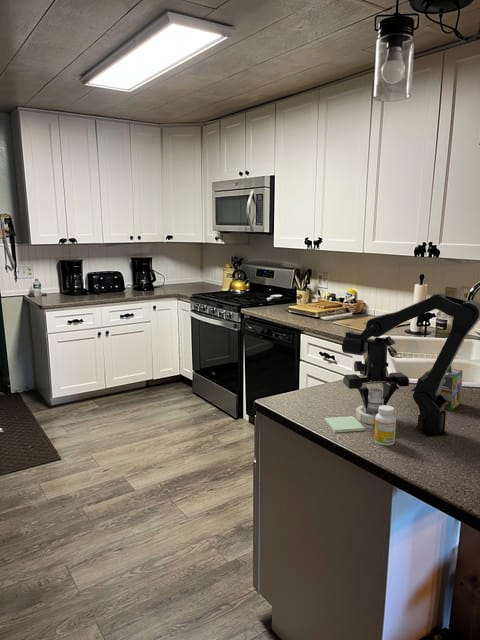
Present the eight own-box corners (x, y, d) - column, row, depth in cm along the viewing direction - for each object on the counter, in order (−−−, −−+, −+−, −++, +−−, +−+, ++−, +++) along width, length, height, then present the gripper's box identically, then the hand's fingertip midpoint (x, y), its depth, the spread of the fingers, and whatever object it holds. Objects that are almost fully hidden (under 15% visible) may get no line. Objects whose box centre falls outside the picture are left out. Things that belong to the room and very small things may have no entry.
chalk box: (461, 404, 158) (464, 360, 155) (451, 411, 151) (454, 366, 149) (433, 397, 164) (436, 355, 161) (422, 404, 158) (425, 361, 155)
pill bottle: (369, 413, 150) (371, 386, 148) (385, 417, 147) (387, 389, 145) (362, 418, 146) (363, 390, 144) (378, 422, 143) (379, 394, 141)
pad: (353, 418, 146) (353, 416, 146) (364, 430, 137) (364, 427, 137) (324, 420, 145) (324, 417, 144) (334, 432, 136) (334, 429, 136)
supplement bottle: (379, 435, 134) (380, 402, 132) (398, 441, 130) (399, 407, 128) (370, 442, 130) (372, 408, 128) (390, 447, 126) (392, 412, 124)
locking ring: (383, 411, 152) (383, 404, 151) (397, 423, 142) (398, 415, 142) (351, 413, 150) (352, 405, 150) (364, 425, 141) (364, 417, 140)
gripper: (394, 350, 152) (392, 397, 155) (338, 352, 150) (336, 399, 152) (411, 359, 141) (408, 409, 144) (350, 361, 139) (348, 412, 142)
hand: (374, 407), depth 146 cm, fingers closed on pill bottle, 5 cm apart
